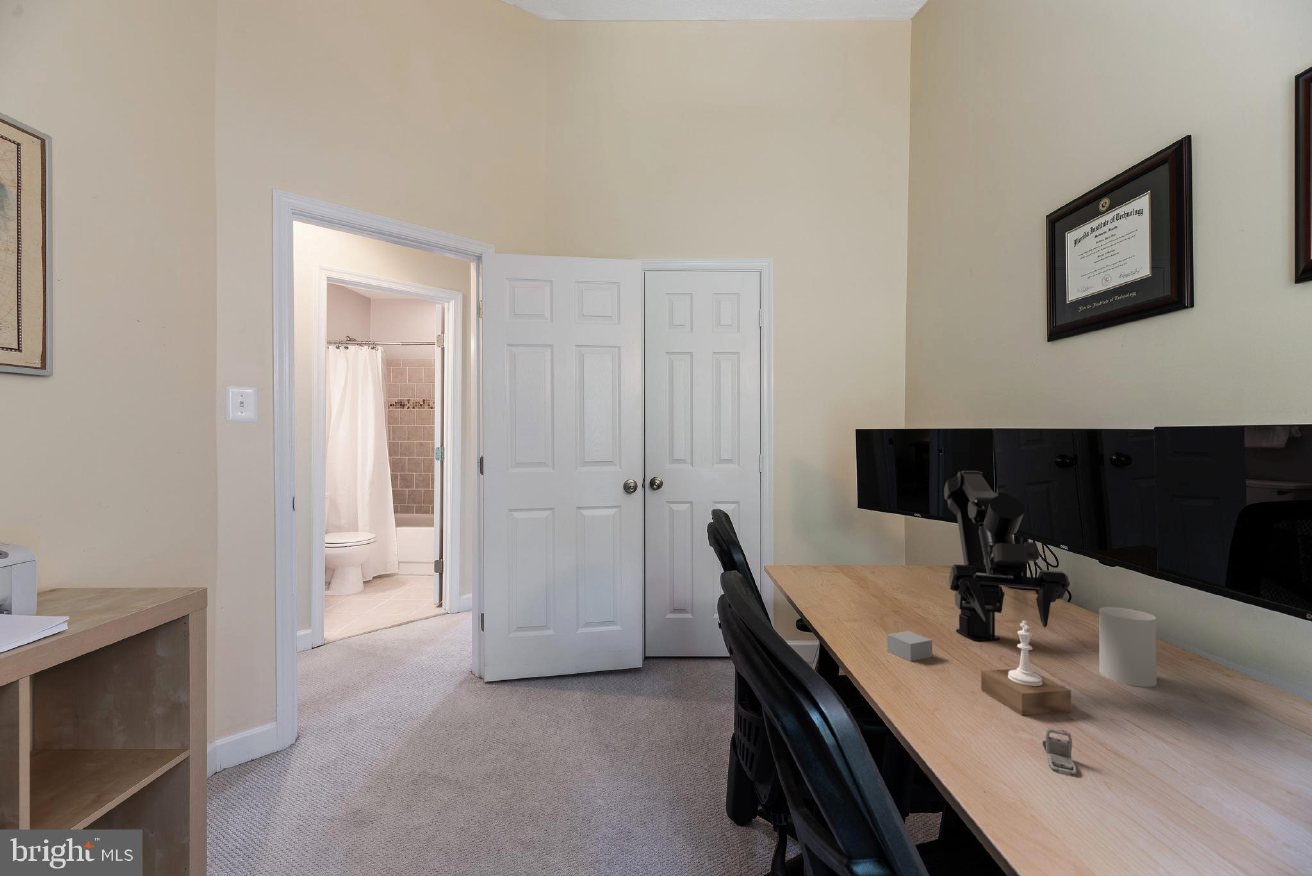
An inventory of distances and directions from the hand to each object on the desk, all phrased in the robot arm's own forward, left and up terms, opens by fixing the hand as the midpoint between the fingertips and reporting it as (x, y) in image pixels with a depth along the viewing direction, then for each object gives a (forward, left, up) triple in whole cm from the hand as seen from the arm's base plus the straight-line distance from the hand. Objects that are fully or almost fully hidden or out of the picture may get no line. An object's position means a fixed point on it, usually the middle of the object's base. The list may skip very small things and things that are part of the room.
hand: (1015, 623), depth 98 cm
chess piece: (+2, +4, -8) cm, 10 cm away
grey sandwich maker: (+11, +20, -12) cm, 26 cm away
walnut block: (+2, +4, -12) cm, 13 cm away
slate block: (+9, -18, -12) cm, 23 cm away
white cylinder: (-25, -2, -12) cm, 28 cm away
